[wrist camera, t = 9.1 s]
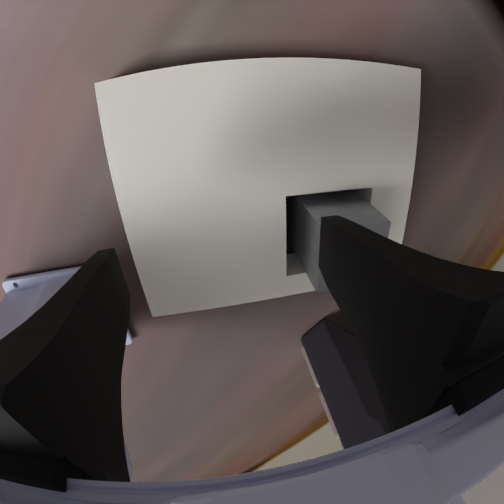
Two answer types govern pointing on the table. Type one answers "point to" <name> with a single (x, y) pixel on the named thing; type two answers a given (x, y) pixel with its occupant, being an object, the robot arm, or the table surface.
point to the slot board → (249, 166)
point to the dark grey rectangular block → (344, 384)
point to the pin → (309, 222)
